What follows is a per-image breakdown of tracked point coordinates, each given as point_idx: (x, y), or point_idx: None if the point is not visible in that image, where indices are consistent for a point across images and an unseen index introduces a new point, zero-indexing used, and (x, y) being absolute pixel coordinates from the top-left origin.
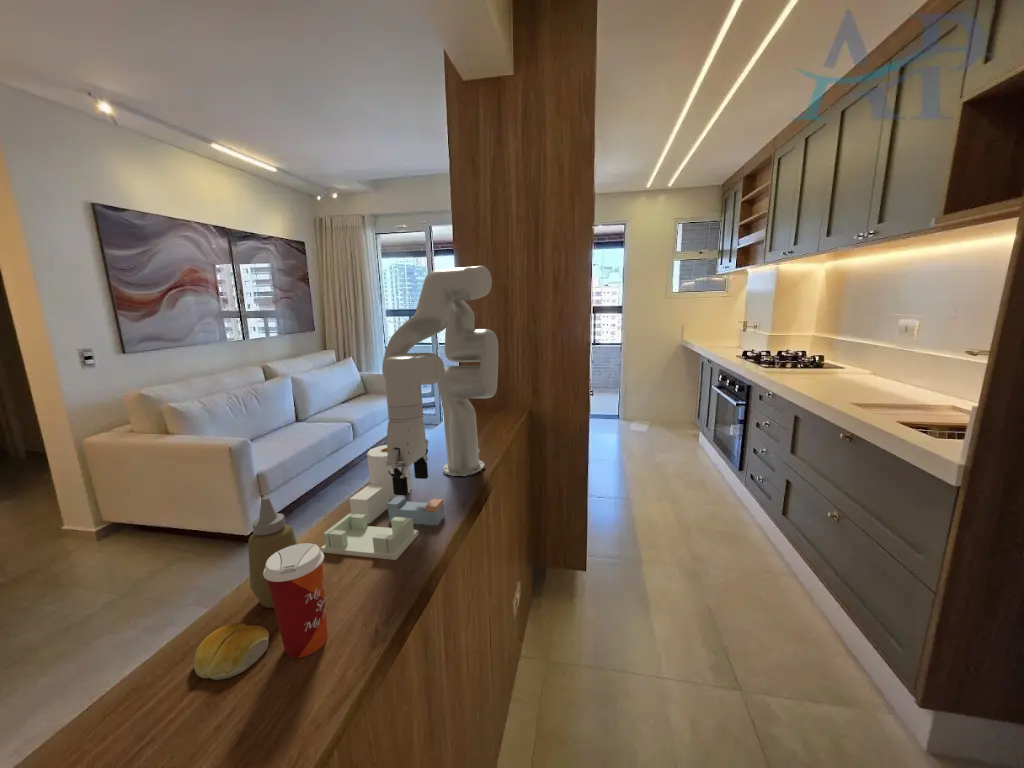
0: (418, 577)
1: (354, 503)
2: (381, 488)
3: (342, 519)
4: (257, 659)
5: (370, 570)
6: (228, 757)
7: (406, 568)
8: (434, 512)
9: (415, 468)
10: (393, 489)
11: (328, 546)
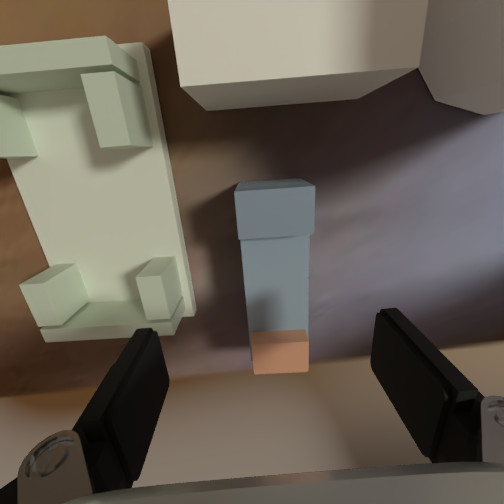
0: (60, 381)
1: None
2: (344, 73)
3: (44, 49)
4: None
5: (20, 283)
6: None
7: (69, 349)
8: (251, 355)
9: (412, 362)
10: (126, 346)
11: None
